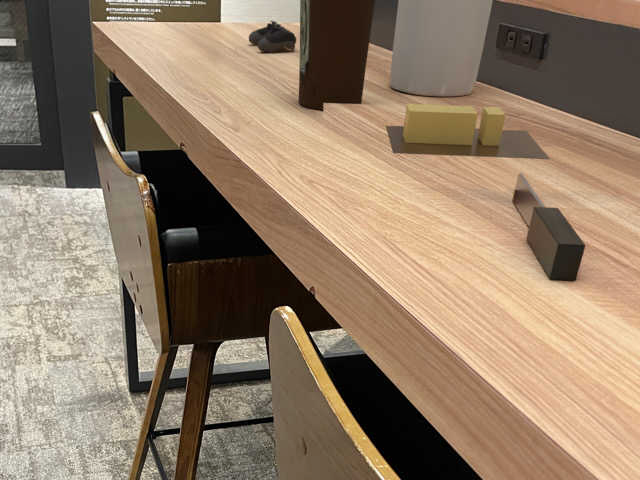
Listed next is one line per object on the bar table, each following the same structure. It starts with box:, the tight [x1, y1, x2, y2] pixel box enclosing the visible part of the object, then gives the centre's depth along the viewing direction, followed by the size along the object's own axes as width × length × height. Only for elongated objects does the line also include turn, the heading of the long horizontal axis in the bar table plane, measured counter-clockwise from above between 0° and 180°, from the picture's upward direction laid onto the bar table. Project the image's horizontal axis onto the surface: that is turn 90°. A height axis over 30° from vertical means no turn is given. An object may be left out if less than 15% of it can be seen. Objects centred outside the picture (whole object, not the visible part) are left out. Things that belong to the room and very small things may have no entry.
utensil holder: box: [389, 0, 494, 98], centre depth 128 cm, size 15×15×18 cm
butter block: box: [403, 103, 479, 145], centre depth 99 cm, size 8×4×4 cm, turn 86°
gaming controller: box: [248, 20, 297, 53], centre depth 163 cm, size 12×8×5 cm, turn 10°
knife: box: [512, 173, 586, 282], centre depth 76 cm, size 22×2×3 cm, turn 176°
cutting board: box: [385, 125, 551, 160], centre depth 100 cm, size 18×14×2 cm
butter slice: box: [478, 106, 506, 146], centre depth 99 cm, size 2×4×4 cm, turn 175°
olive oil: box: [298, 0, 376, 111], centre depth 115 cm, size 11×11×25 cm
